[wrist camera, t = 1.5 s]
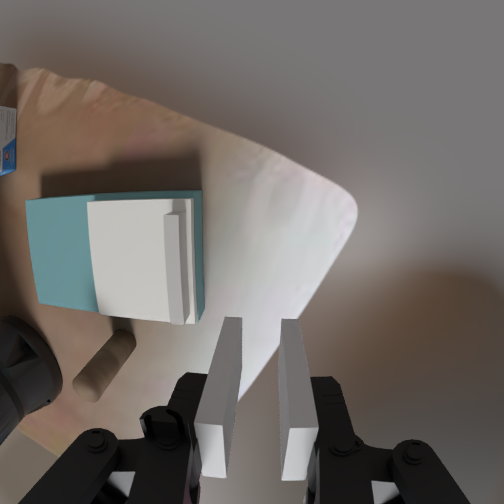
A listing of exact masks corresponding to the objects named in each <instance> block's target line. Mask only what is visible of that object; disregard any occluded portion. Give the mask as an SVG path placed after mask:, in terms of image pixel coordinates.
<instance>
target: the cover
mask: <svg viewBox="0 0 504 504" xmlns="http://www.w3.org/2000/svg"><path fill="white" fill-rule="evenodd" d="M87 213H88V228H89V241H90V251H91V260H92V269H93V276H94V284H95V290H96V297H97V303H98V309H99V314H101V315H109V316H117V317H126V318H135V319H144V320H154V321H165V322H170V324H179V325H184V324H185V323H189V324H195V323H196V321H197V301H196V279H195V250H194V198H160V199H123V200H99V201H89V202H87Z"/></svg>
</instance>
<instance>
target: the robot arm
mask: <svg viewBox="0 0 504 504" xmlns="http://www.w3.org/2000/svg"><path fill="white" fill-rule="evenodd" d="M241 371H242V318H239V317H225V319H224V322H223V325H222V329H221V332H220V335H219V339H218V342H217V346H216V349H215V352H214V356H213V359H212V363H211V366H210V369H209V373H208V374H200V373H190V372H187V373H185V374H184V375H183V376H182V377H181V378H180V379H178V381H177V384H176V386H175V388H174V391H173V393H172V395H171V398H170V400H169V403H168V405H167V406H157V407H154V408H150V409H149V410H147V411H146V412H144V413H143V414H142V416H141V417H140V419H139V420H140V423H141V427H142V430H143V433H144V436H145V437H144V438H140V439H125V440H118V439H117V438H116V436H115V435H114V434H113V433H112V432H110V431H109V430H106V429H102V428H94V429H90V430H87V431H84V432H83V433H82V434H81V435H79V436H78V437H77V439H76V440H75V441H74V442H73V443H72V444H71V445H70V446H69V447H68V449H67V450H66V451H65V452H64V453H63V454H62V455H61V456H60V457H59V459H58V460H57V461H56V462H55V463H54V464H53V465H52V466H51V467H50V469H49V470H48V471H47V472H46V473H45V474H44V475H43V476H42V478H41V479H40V480H39V481H38V482H37V483H36V484H35V485H34V486H33V488H32V489H31V490H30V491H29V492H28V493H27V494H26V496H25V497H24V498H23V499H22V500H21V501H20V502H19V503H18V504H199V499H200V483H199V478H200V474H201V469H202V474H203V476H209V477H219V478H226V477H227V471H228V464H229V457H230V450H231V443H232V436H233V429H234V422H235V415H236V407H237V400H238V393H239V386H240V379H241ZM278 374H279V404H280V435H281V436H280V437H281V478H282V479H281V480H305V479H306V476H308V487H307V491H306V494H305V497H304V500H303V503H306V504H470V502H469V501H468V499H467V498H466V496H465V495H464V493H463V492H462V491H461V489H460V488H459V486H458V485H457V483H456V482H455V480H454V479H453V477H452V476H451V475H450V473H449V472H448V470H447V469H446V468H445V466H444V465H443V464H442V462H441V460H440V459H439V458H438V456H437V455H436V453H435V452H434V451H433V449H432V448H431V447H430V446H429V445H428V444H426V443H425V442H422V441H420V440H413V439H411V440H405V441H403V442H401V443H399V444H397V446H396V447H395V448H394V449H393V450H392V449H382V448H375V447H371V446H368V445H366V444H364V442H363V440H361V439H360V438H359V437H358V436H357V435H355V433H354V431H353V427H352V424H351V420H350V417H349V413H348V410H347V407H346V404H345V400H344V397H343V393H342V390H341V386H340V384H339V383H338V382H337V381H336V380H335V379H334V378H333V377H332V376H329V377H310V375H309V369H308V364H307V359H306V354H305V348H304V343H303V338H302V333H301V328H300V323H299V319H282V321H281V336H280V352H279V365H278ZM61 390H62V376H61V373H60V369H59V367H58V364H57V362H56V360H55V358H54V356H53V354H52V353H51V351H50V349H49V348H48V346H47V345H46V344H45V342H44V341H43V340H42V338H41V337H40V336H39V335H38V334H37V333H36V332H35V331H34V330H33V329H32V328H31V327H30V326H29V325H28V324H26V323H25V322H23V321H22V320H20V319H18V318H16V317H13V316H4V317H2V318H0V445H1V444H2V443H3V442H4V441H5V439H6V438H7V437H8V436H9V434H10V433H11V432H12V431H13V430H14V428H15V427H16V426H17V425H18V424H19V422H20V421H21V420H22V419H23V418H24V417H25V416H26V415H28V414H30V413H32V412H34V411H36V410H39V409H41V408H42V407H44V406H47V405H49V404H51V403H52V402H53V401H54V400H55V399H56V398H57V396H58V395H59V394H60V392H61Z"/></svg>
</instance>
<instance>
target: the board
mask: <svg viewBox="0 0 504 504" xmlns="http://www.w3.org/2000/svg"><path fill="white" fill-rule="evenodd" d="M160 198H194V250H195V279H196V301H197V321H196V322H199V320H200V318H201V316H202V314H203V311H204V309H205V305H204V279H203V239H202V190H176V191H139V192H116V193H97V194H82V195H68V196H55V197H44V198H37V199H31V200H26V201H25V202H26V217H27V229H28V238H29V246H30V254H31V261H32V267H33V274H34V279H35V285H36V290H37V295H38V300H39V303H41V304H47V305H53V306H59V307H66V308H73V309H79V310H87V311H94V312H99V309H98V303H97V297H96V290H95V284H94V276H93V269H92V260H91V251H90V241H89V228H88V213H87V202H89V201H99V200H123V199H160Z"/></svg>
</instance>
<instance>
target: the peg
mask: <svg viewBox="0 0 504 504" xmlns="http://www.w3.org/2000/svg"><path fill="white" fill-rule="evenodd" d="M135 347H136V340H135V338H134V336H133V335H132V334H131V333H130V332H128V331H126V330H117V331H116V332H115V333H114V334H113V335H112V336H111V338H110V339H109V340H108V341H107V342H106V343H105V344H104V345H103V346H102V348H101V349H100V350H99V351H98V352H97V353H96V354H95V355H94V357H93V358H92V359H91V360H90V361H89V362H88V363H87V365H86V366H85V367H84V368H83V369H82V370H81V371H80V373H79V374H78V375H77V376H76V377H75V378H74V380H73V383H72V384H73V388H74V390H75V391H76V393H77V394H78V395H79V396H80V397H81V398H83V399H84V400H86V401H88V402H97V401H98V400H99V398H100V397H101V395H102V394H103V393H104V391H105V390H106V388H107V387H108V385H109V384H110V383H111V381H112V380H113V378H114V377H115V375H116V374H117V373H118V371H119V370H120V368H121V367H122V366H123V364H124V363H125V361H126V360H127V359H128V357H129V356H130V354H131V353H132V352H133V350H134V349H135Z"/></svg>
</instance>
